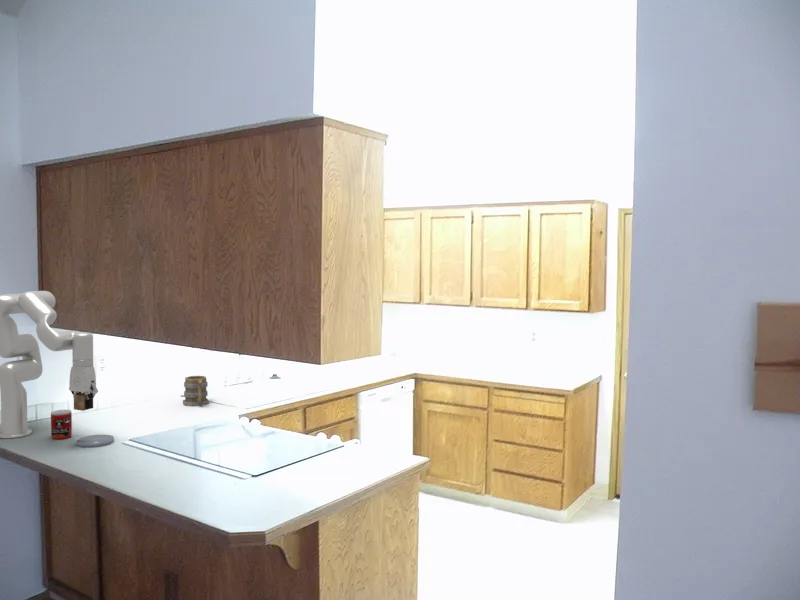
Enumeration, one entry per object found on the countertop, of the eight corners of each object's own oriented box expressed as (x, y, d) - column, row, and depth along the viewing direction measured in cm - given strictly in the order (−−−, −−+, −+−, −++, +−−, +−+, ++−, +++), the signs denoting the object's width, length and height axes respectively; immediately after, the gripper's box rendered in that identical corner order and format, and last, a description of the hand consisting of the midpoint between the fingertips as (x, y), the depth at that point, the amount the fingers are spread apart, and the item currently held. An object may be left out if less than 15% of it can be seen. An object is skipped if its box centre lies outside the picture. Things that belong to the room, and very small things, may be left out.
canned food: (49, 440, 267) (48, 414, 266) (53, 435, 274) (53, 409, 274) (69, 439, 269) (69, 413, 268) (73, 434, 276) (73, 409, 276)
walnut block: (73, 409, 258) (73, 394, 258) (84, 406, 263) (84, 392, 262) (83, 410, 256) (82, 395, 256) (93, 408, 261) (93, 393, 261)
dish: (68, 445, 260) (68, 441, 260) (95, 436, 273) (95, 433, 273) (94, 449, 255) (94, 445, 255) (121, 440, 268) (121, 436, 268)
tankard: (181, 402, 342) (181, 374, 341) (206, 400, 347) (206, 372, 346) (186, 410, 324) (186, 380, 323) (212, 408, 329) (212, 379, 328)
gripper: (59, 363, 258) (60, 407, 259) (91, 366, 252) (91, 412, 253) (75, 360, 265) (76, 404, 266) (106, 363, 259) (107, 408, 260)
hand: (83, 407), depth 260 cm, fingers closed on walnut block, 5 cm apart
